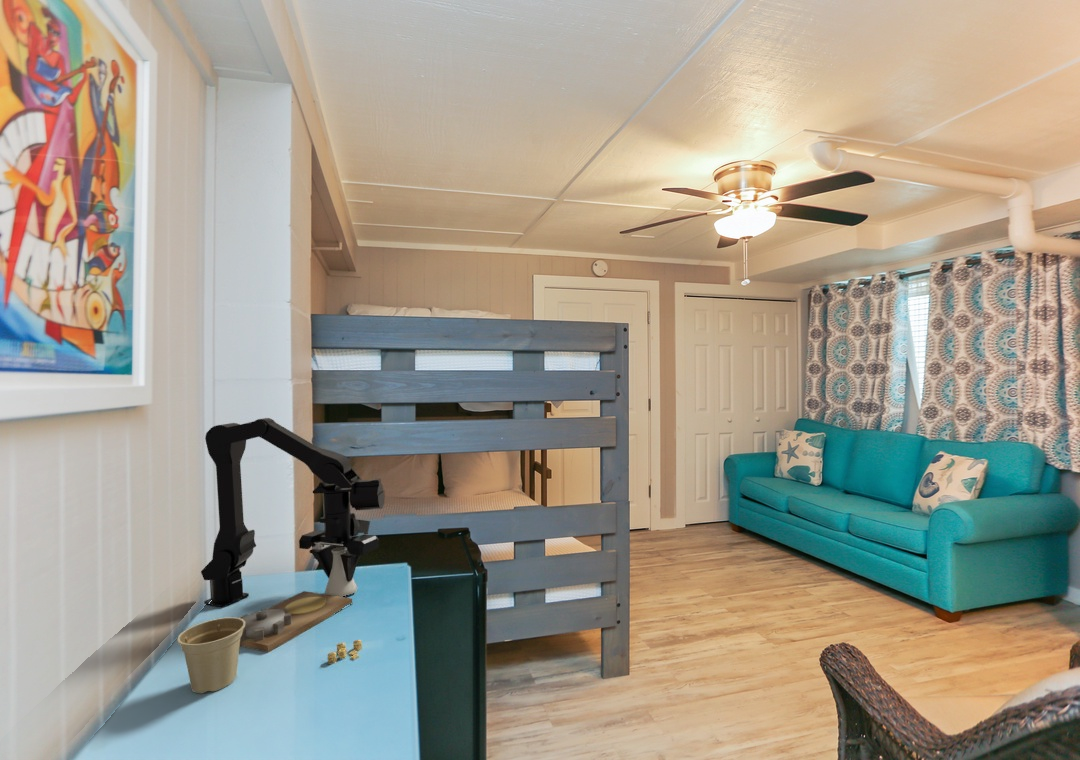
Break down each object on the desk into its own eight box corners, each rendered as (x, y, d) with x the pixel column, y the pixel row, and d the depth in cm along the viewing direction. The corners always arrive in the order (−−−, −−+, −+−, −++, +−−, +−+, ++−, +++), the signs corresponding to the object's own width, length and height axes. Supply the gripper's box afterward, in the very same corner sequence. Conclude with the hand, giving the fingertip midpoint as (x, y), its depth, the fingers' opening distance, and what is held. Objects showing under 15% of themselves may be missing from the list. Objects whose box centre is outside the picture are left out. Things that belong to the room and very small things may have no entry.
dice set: (326, 668, 90) (326, 656, 90) (334, 652, 95) (334, 642, 95) (357, 664, 91) (357, 653, 91) (363, 649, 96) (363, 639, 96)
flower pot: (260, 667, 90) (257, 616, 90) (222, 701, 81) (219, 644, 81) (208, 666, 91) (206, 616, 91) (165, 700, 82) (162, 644, 82)
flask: (325, 602, 116) (323, 556, 116) (322, 591, 123) (320, 547, 123) (360, 594, 120) (358, 550, 120) (355, 584, 126) (353, 542, 126)
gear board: (212, 641, 100) (211, 619, 100) (304, 596, 120) (303, 577, 120) (265, 653, 95) (264, 630, 95) (352, 604, 115) (351, 584, 115)
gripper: (393, 504, 125) (396, 571, 125) (332, 500, 132) (335, 563, 132) (359, 517, 114) (363, 589, 115) (295, 512, 122) (299, 580, 122)
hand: (340, 579), depth 121 cm, fingers closed on flask, 5 cm apart
